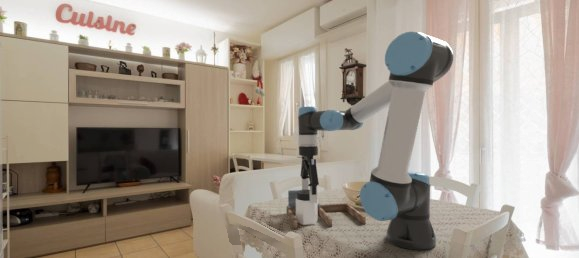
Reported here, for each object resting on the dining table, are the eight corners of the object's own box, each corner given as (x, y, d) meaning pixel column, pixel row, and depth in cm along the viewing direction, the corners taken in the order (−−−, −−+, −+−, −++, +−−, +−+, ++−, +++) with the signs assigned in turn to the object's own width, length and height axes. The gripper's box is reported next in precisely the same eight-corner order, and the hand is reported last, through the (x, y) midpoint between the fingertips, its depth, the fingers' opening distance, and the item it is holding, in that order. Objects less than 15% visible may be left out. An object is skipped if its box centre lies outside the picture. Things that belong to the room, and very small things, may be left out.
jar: (322, 222, 116) (321, 192, 116) (307, 226, 111) (306, 195, 111) (306, 216, 123) (306, 188, 123) (292, 220, 118) (291, 191, 118)
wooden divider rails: (365, 224, 113) (365, 198, 113) (294, 229, 108) (294, 202, 108) (346, 209, 133) (346, 187, 132) (286, 213, 128) (286, 190, 128)
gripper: (326, 147, 105) (327, 206, 105) (309, 143, 129) (310, 191, 130) (306, 148, 103) (307, 207, 104) (293, 143, 128) (294, 192, 128)
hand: (309, 198), depth 117 cm, fingers open, 13 cm apart
